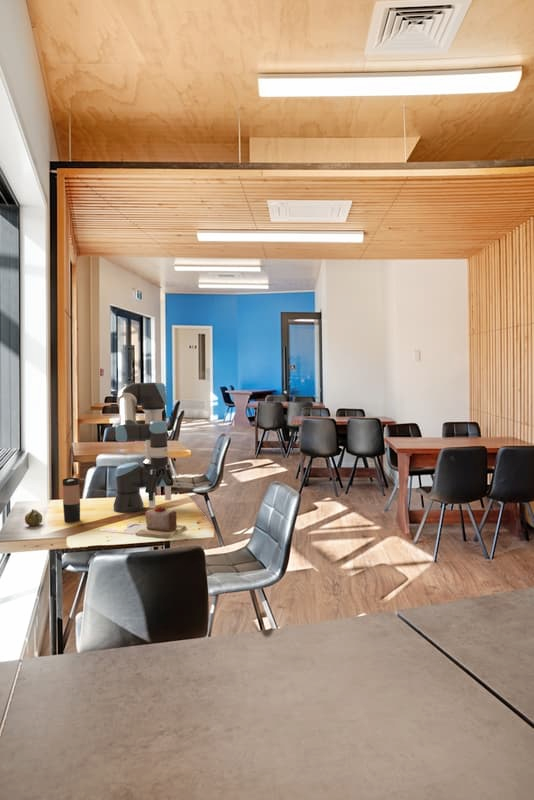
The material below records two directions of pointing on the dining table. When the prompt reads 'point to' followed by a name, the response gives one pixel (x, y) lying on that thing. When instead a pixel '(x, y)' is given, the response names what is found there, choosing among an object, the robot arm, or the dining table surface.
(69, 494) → the travel mug
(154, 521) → the food item
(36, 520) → the onion
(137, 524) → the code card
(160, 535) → the beige cloth
